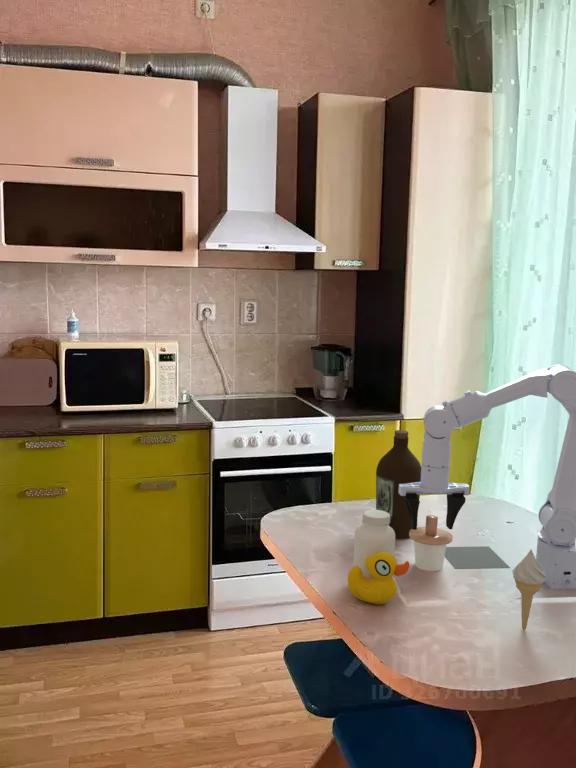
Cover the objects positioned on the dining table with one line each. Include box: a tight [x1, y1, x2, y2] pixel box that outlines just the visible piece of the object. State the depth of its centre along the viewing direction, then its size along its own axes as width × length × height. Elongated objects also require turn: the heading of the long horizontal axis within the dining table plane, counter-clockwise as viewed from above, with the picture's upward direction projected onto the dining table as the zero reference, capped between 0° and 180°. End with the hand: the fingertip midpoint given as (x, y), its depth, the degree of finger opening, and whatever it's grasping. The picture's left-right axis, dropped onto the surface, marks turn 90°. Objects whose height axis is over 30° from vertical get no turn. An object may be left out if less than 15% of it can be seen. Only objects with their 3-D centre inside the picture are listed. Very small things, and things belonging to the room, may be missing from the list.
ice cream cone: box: [512, 548, 546, 631], centre depth 132 cm, size 6×6×15 cm
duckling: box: [347, 551, 410, 605], centre depth 141 cm, size 11×5×10 cm, turn 75°
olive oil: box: [375, 429, 422, 540], centre depth 176 cm, size 11×11×25 cm
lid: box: [409, 514, 454, 545], centre depth 157 cm, size 9×9×4 cm
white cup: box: [413, 540, 448, 572], centre depth 158 cm, size 7×7×7 cm
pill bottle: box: [352, 509, 396, 579], centre depth 148 cm, size 8×8×15 cm
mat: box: [444, 545, 511, 570], centre depth 164 cm, size 12×12×1 cm
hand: (431, 527), depth 157 cm, fingers open, 7 cm apart
